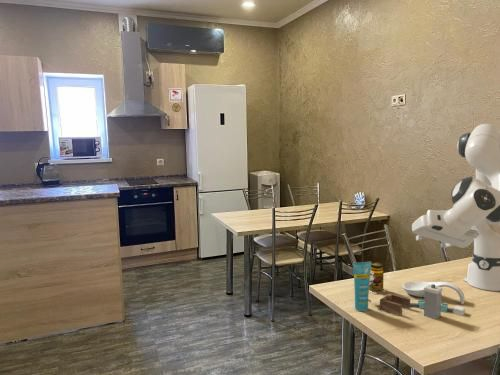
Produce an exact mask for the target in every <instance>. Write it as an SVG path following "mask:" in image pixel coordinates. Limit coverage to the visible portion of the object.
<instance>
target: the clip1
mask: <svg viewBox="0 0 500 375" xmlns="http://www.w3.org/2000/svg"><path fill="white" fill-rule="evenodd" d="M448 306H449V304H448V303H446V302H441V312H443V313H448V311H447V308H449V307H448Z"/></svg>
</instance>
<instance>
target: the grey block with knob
mask: <svg viewBox="0 0 500 375" xmlns="http://www.w3.org/2000/svg"><path fill="white" fill-rule="evenodd" d="M424 291H425V297H424V299H423V300H424V309H423V316H424V317H426V318H430V319H434V320H438V318H439V317H440V316H441V315H442V314H441V313H442V311H441V305H442V291H443V287H439V286H435V285H434V284H431V285H430V284H429V285H427V286H426V287H424Z"/></svg>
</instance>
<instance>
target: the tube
mask: <svg viewBox="0 0 500 375" xmlns="http://www.w3.org/2000/svg"><path fill="white" fill-rule="evenodd" d="M371 263H372V261H371V260H370V261H365V262H353V263H352V267H353V269H352V270H353V282H354V285H353V286H354V309H355V310H356V311H359V312H366V311H368V309H369V308H368V307H369V303H368V299H369V292H370V291H369V281H370V270H371Z"/></svg>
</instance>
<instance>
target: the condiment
mask: <svg viewBox="0 0 500 375" xmlns="http://www.w3.org/2000/svg"><path fill="white" fill-rule="evenodd" d="M383 269H384V268H383V264H382V263H380V262H371V270H370V271H371V272H373V273H374V274H373V276H374V281H373V282H372V283H371V284H370V285H369V290H370V291H372V292H371V293H373V294H374V295H375V294H376V295H377V294H382V293H385V292H388V290H387V289H385V288H384V270H383ZM370 291H369V292H370ZM375 292H376V293H375Z"/></svg>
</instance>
